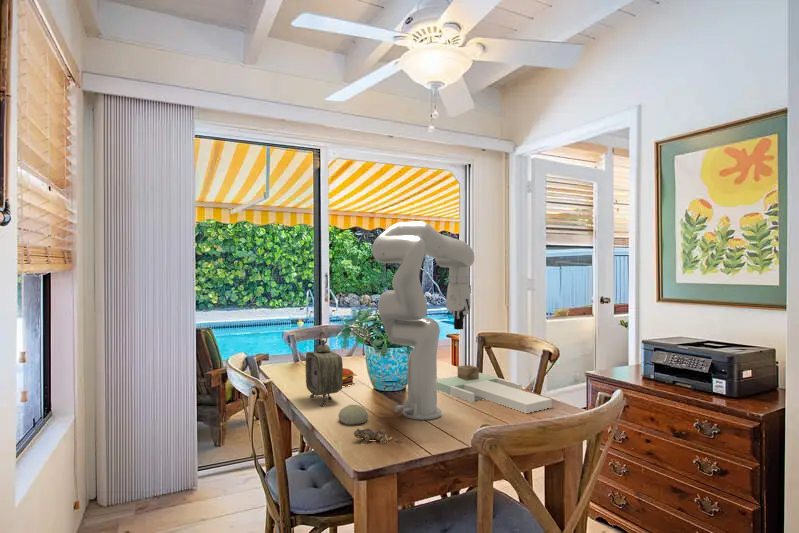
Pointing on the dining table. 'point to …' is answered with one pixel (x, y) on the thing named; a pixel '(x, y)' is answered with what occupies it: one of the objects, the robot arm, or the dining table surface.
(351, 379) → the hamburger
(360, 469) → the dining table surface
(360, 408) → the sea urchin shell
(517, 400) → the board
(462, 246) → the robot arm
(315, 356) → the tabletop clock
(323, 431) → the dining table surface
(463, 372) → the walnut block
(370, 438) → the frog figurine
